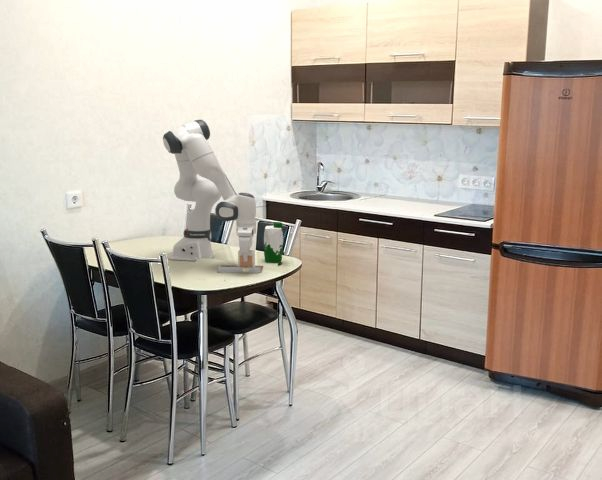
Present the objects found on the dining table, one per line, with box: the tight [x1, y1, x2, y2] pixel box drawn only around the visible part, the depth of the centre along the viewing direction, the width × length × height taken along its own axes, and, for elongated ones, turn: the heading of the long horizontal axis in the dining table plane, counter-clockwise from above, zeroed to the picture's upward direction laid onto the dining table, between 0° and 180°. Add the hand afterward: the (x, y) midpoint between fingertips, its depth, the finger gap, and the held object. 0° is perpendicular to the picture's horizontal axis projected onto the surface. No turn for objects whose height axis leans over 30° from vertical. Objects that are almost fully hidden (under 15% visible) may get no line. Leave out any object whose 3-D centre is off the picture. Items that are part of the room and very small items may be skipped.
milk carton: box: [263, 221, 284, 266], centre depth 306 cm, size 9×9×20 cm
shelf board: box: [216, 264, 264, 274], centre depth 291 cm, size 20×14×1 cm
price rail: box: [217, 266, 261, 274], centre depth 284 cm, size 19×1×2 cm, turn 89°
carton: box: [237, 249, 256, 267], centre depth 288 cm, size 7×5×9 cm
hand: (246, 259), depth 288 cm, fingers open, 7 cm apart
